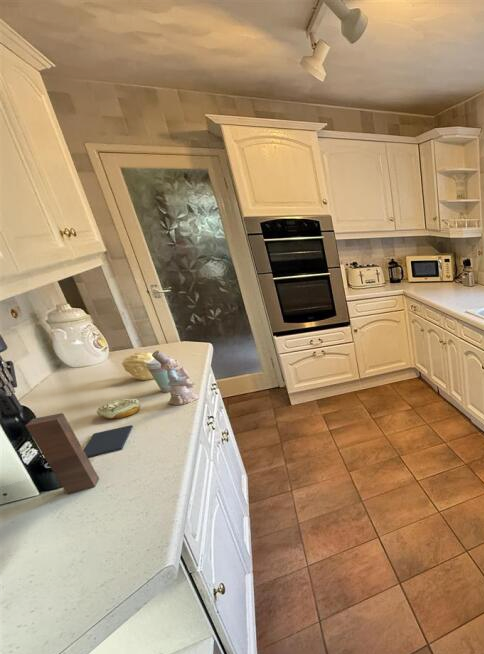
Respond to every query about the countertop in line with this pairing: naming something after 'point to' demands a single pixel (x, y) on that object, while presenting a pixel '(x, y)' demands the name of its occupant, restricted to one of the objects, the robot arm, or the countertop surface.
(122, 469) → the countertop surface
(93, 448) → the rubber mat
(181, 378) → the figurine
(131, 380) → the countertop surface
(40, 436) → the walnut block
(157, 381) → the coffee cup
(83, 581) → the countertop surface
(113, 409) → the decorated donut
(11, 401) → the robot arm
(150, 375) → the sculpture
